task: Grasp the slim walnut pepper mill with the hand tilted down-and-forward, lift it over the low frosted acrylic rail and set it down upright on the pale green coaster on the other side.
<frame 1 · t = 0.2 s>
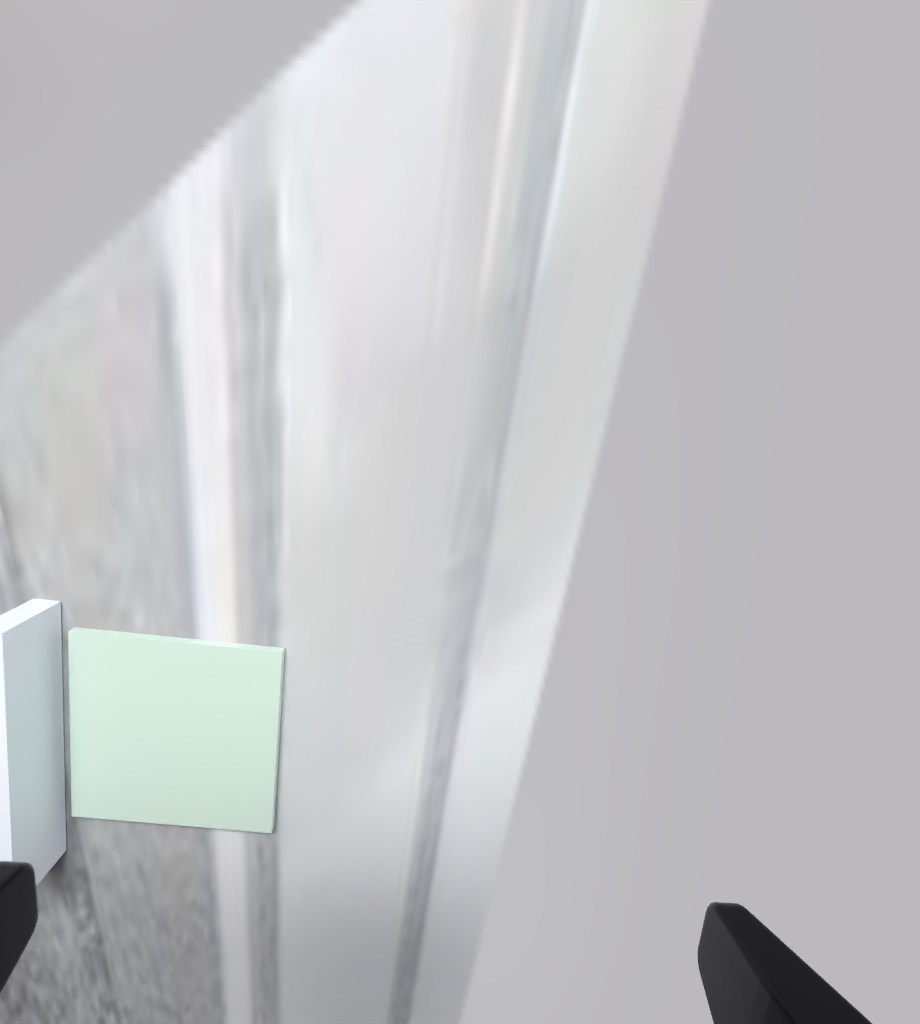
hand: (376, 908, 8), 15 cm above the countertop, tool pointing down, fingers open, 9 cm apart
rail: (50, 730, 23), on the countertop
coaster: (178, 730, 24), on the countertop
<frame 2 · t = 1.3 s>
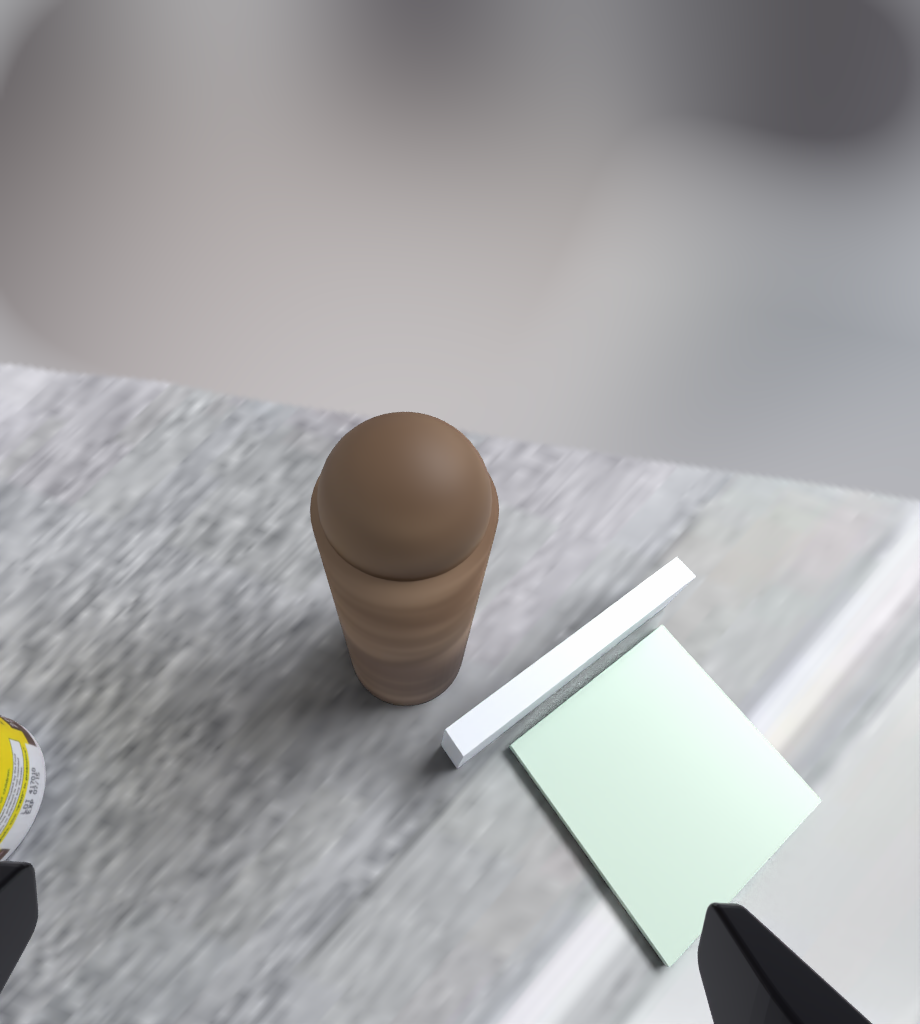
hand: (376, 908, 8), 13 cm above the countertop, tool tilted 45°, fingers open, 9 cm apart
rail: (562, 670, 23), on the countertop
pepper mill: (407, 648, 23), on the countertop
coaster: (661, 774, 22), on the countertop
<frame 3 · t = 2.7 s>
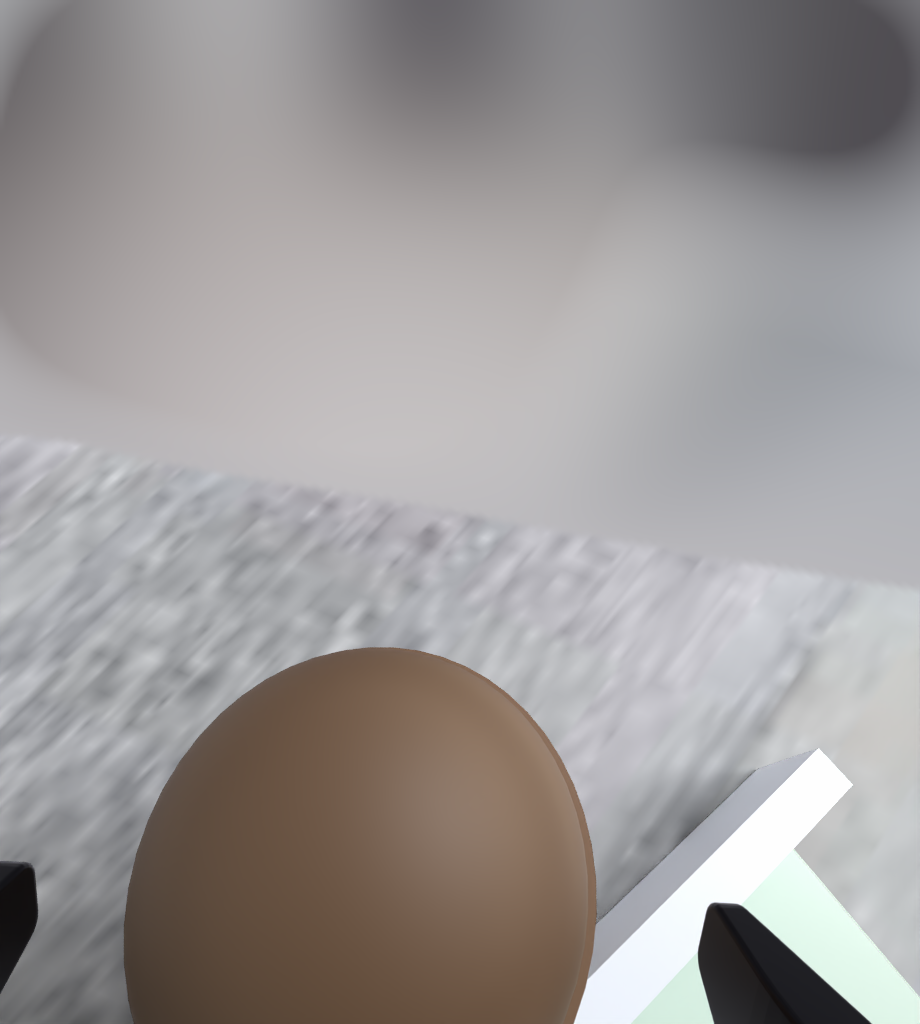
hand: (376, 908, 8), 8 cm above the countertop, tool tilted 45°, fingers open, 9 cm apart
rail: (634, 919, 15), on the countertop
pepper mill: (393, 879, 15), on the countertop
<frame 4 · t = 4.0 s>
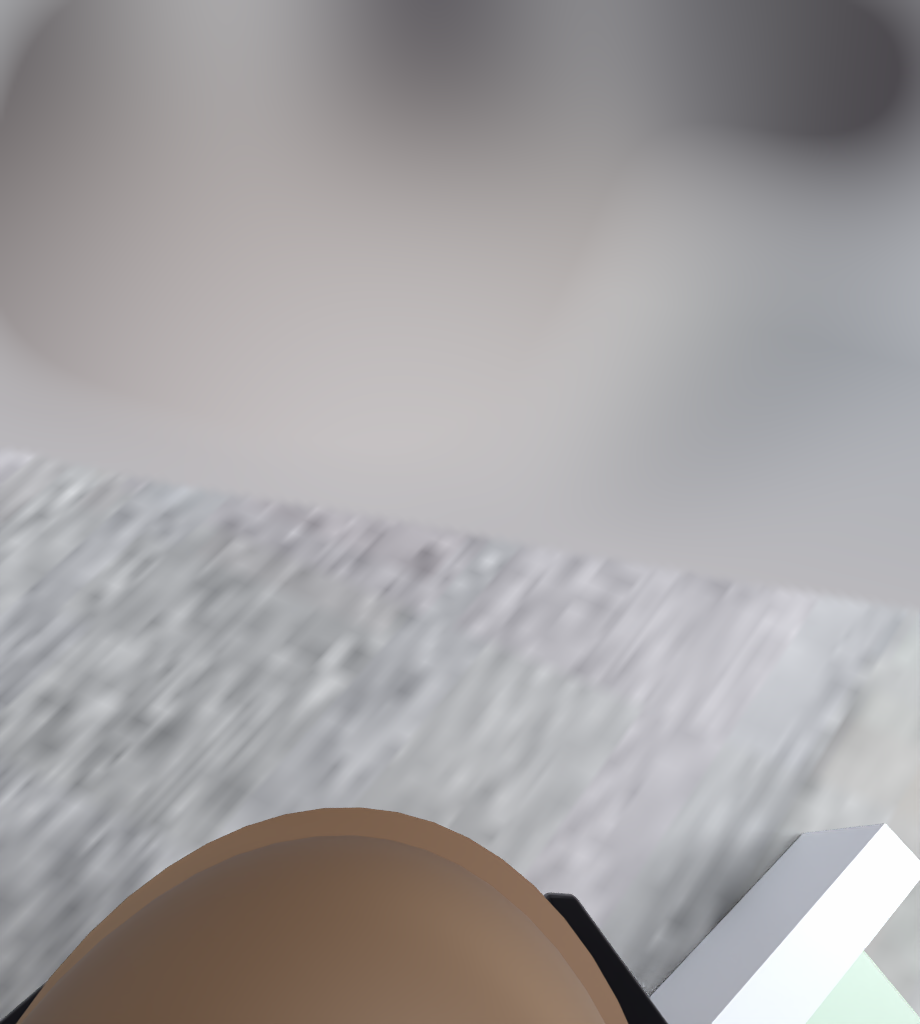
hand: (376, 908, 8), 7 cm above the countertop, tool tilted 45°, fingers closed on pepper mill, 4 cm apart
rail: (665, 1021, 13), on the countertop
pepper mill: (382, 973, 13), on the countertop, touching gripper
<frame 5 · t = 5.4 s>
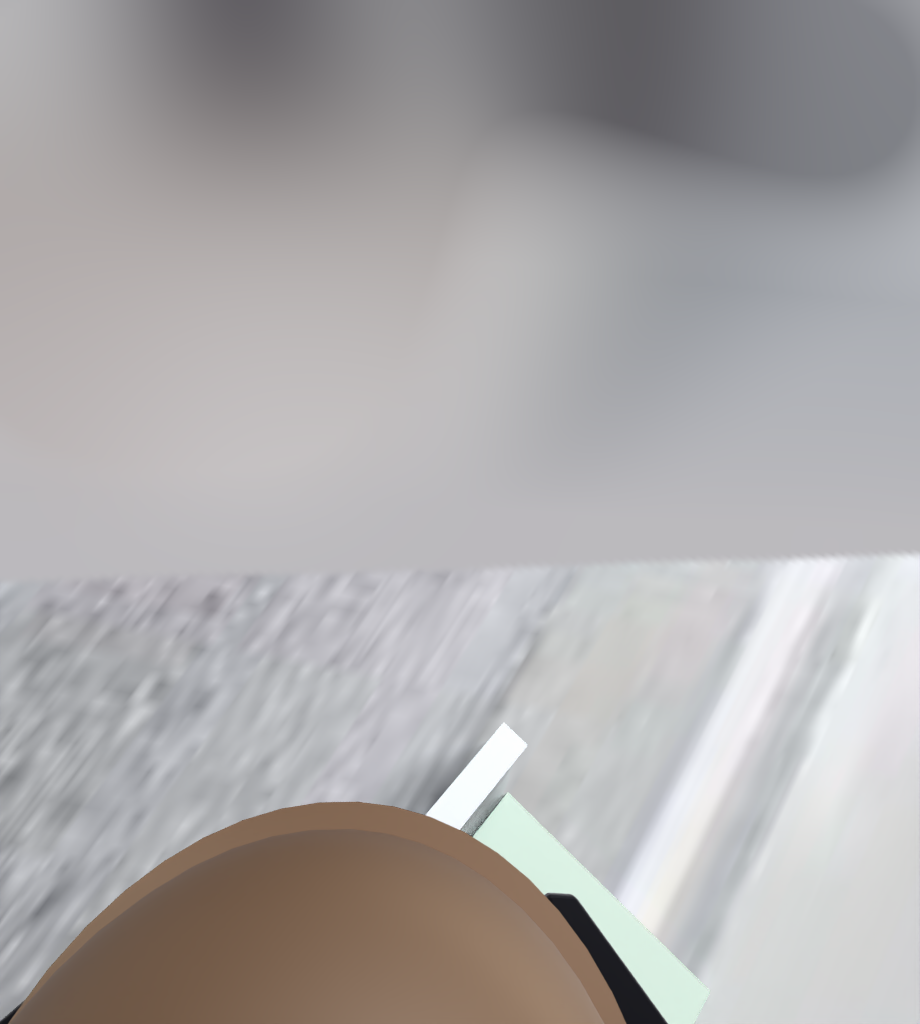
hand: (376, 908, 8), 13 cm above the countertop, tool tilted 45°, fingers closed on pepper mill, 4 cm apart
rail: (392, 883, 19), on the countertop
pepper mill: (381, 971, 13), point 6 cm above the countertop, touching gripper
coaster: (522, 1002, 18), on the countertop
when the fingers open (8 cm above the countertop, at t = 7.0 s): pepper mill drops 1 cm, resting on coaster.
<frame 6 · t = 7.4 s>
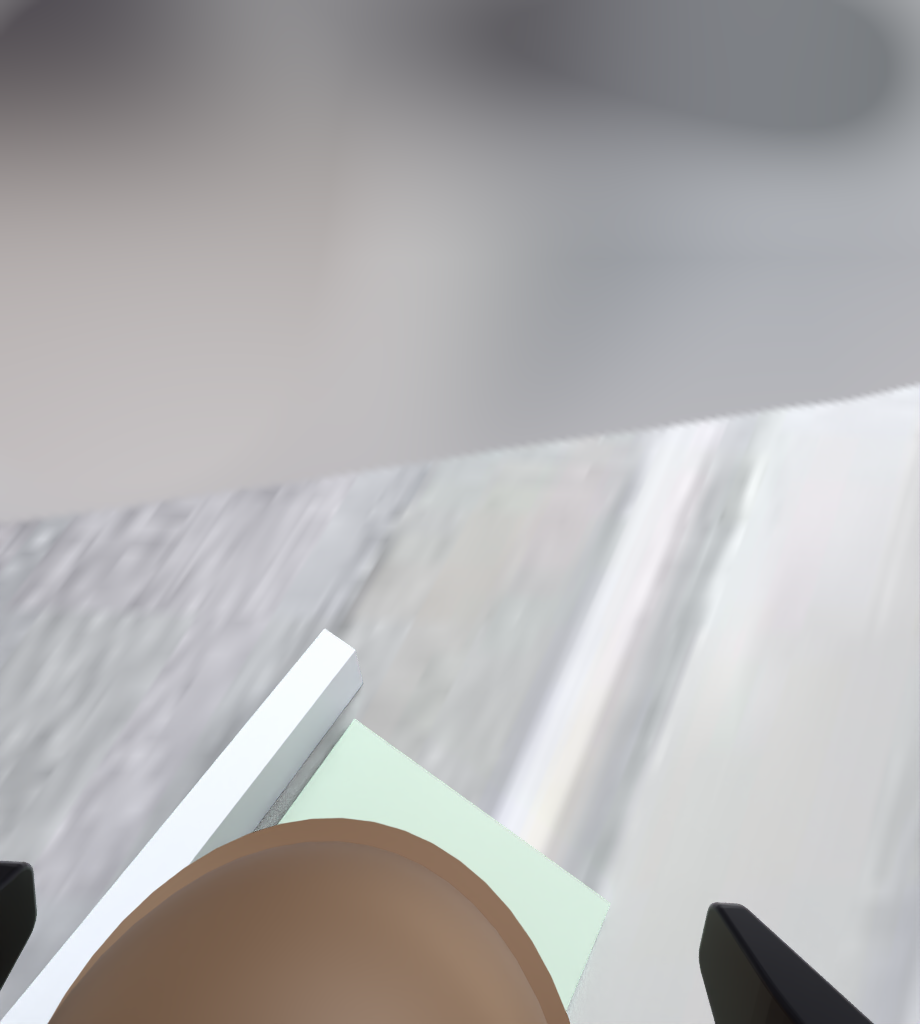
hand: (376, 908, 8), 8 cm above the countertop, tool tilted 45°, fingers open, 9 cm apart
rail: (213, 852, 15), on the countertop
pepper mill: (383, 968, 14), resting on coaster
coaster: (384, 963, 14), on the countertop
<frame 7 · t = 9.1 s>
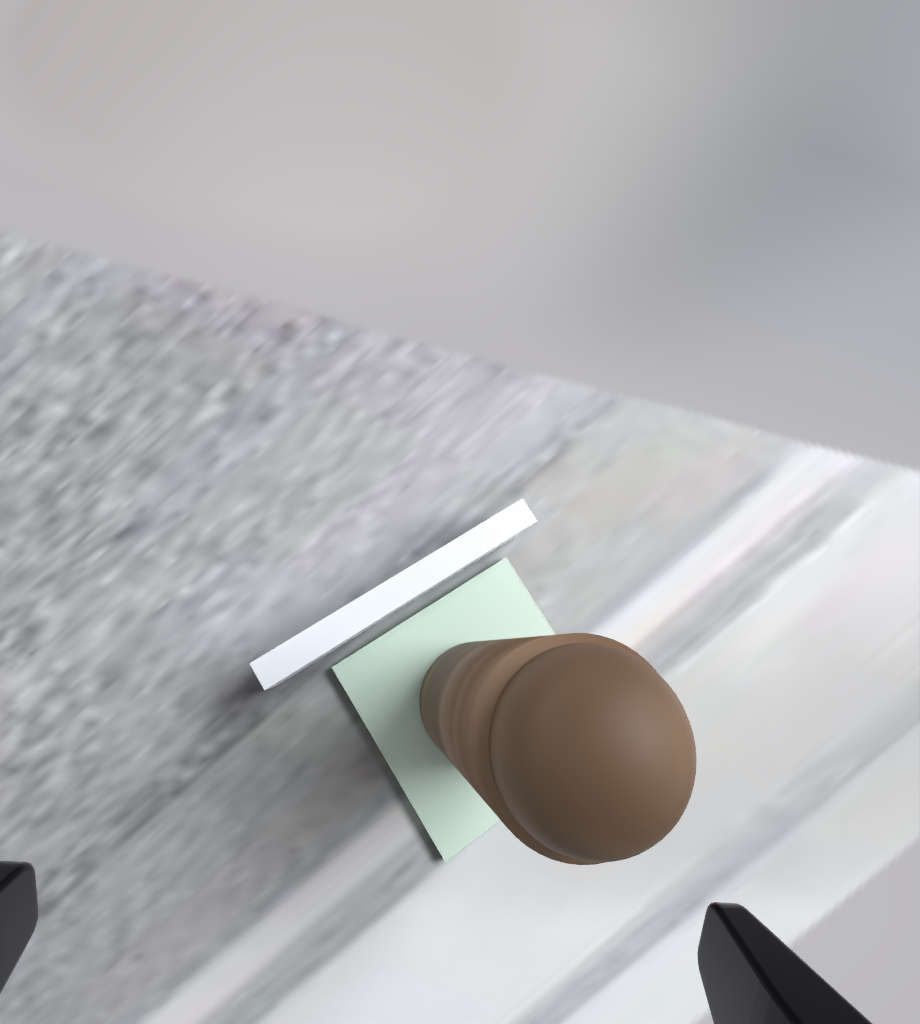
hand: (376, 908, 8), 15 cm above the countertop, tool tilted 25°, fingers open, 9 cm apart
rail: (397, 595, 23), on the countertop
pepper mill: (476, 700, 22), resting on coaster
coaster: (475, 698, 23), on the countertop
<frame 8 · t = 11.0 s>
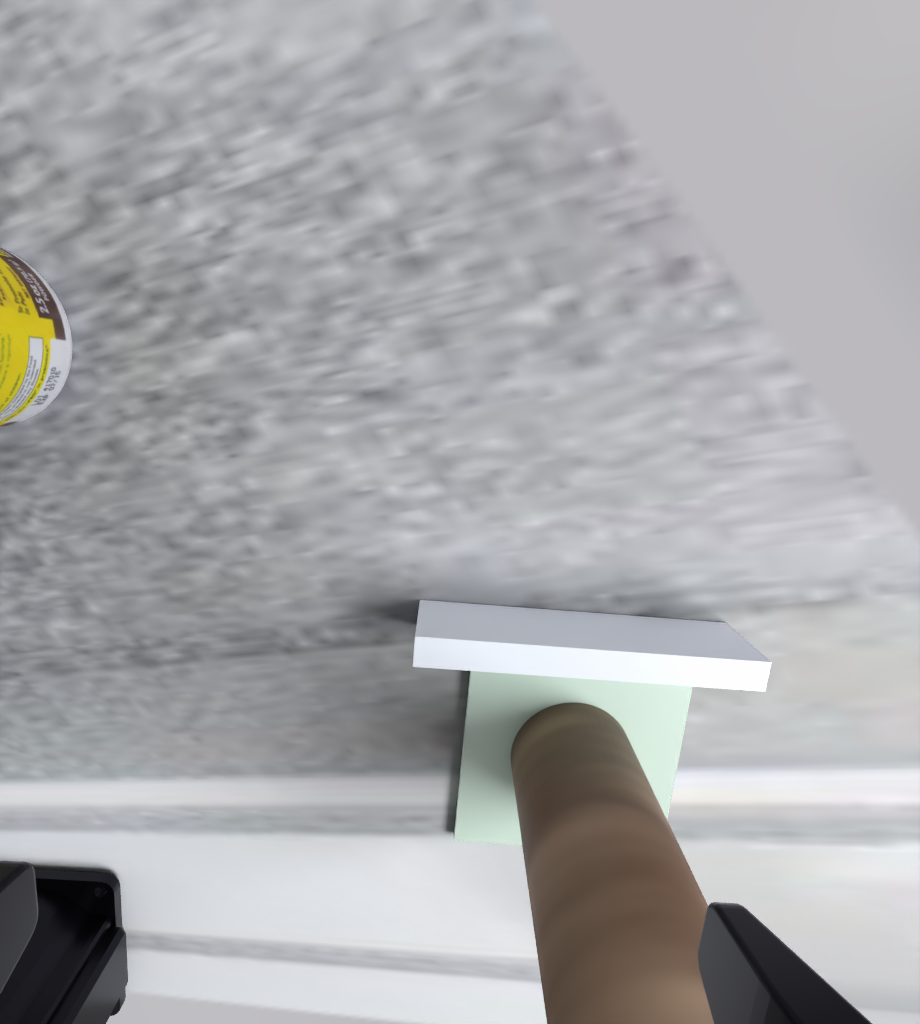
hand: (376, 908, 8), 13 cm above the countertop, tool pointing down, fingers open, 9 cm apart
rail: (573, 624, 21), on the countertop
pepper mill: (570, 756, 22), resting on coaster
coaster: (569, 749, 22), on the countertop
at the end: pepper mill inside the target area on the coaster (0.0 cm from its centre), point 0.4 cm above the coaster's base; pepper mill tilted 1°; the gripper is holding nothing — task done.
